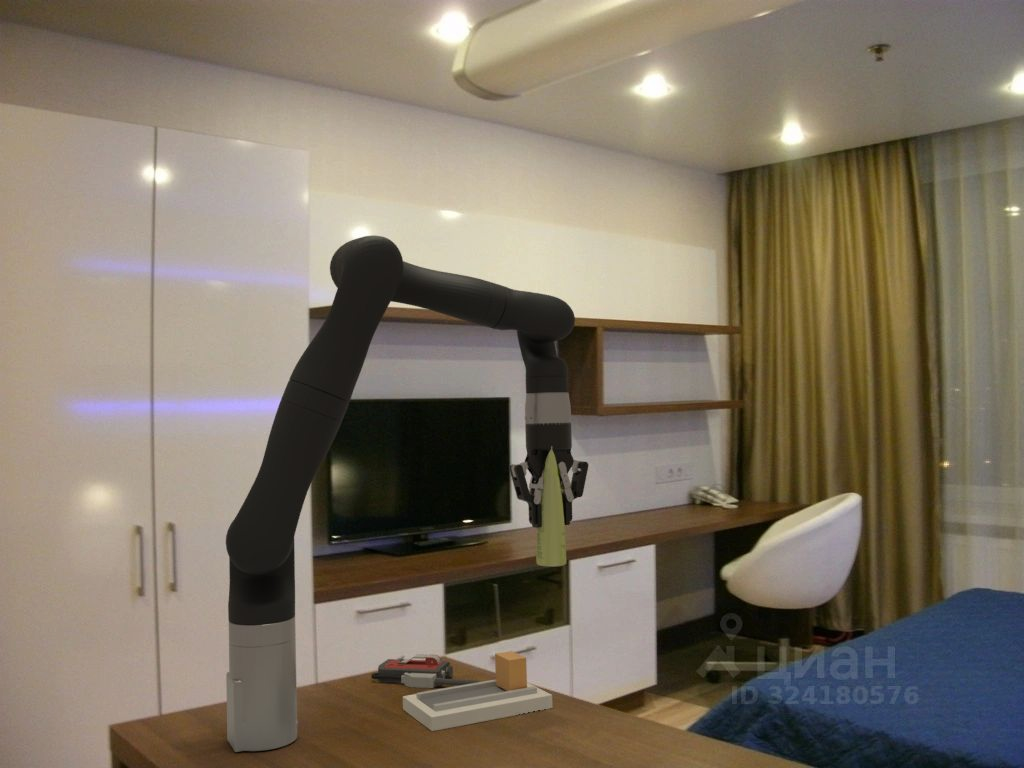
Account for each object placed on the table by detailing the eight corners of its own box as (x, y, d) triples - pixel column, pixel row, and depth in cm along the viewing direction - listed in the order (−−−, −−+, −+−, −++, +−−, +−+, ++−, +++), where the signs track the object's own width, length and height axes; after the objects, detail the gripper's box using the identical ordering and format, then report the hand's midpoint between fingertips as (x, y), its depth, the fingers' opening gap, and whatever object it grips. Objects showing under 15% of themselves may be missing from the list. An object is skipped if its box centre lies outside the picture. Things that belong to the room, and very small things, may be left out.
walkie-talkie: (365, 688, 157) (478, 693, 152) (365, 662, 157) (477, 666, 152) (385, 674, 166) (492, 678, 161) (384, 649, 166) (491, 653, 161)
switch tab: (510, 692, 143) (509, 660, 143) (495, 684, 147) (495, 653, 147) (527, 689, 144) (526, 657, 144) (512, 681, 148) (511, 651, 149)
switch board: (432, 731, 133) (431, 711, 133) (402, 709, 143) (402, 691, 144) (552, 708, 142) (551, 689, 142) (516, 689, 153) (516, 671, 153)
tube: (576, 564, 149) (572, 444, 150) (555, 568, 146) (551, 445, 146) (550, 561, 153) (546, 444, 154) (529, 565, 150) (525, 445, 150)
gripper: (519, 422, 144) (522, 531, 143) (597, 419, 150) (600, 524, 150) (498, 422, 151) (501, 527, 150) (574, 420, 157) (577, 520, 156)
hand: (551, 525), depth 150 cm, fingers closed on tube, 4 cm apart
